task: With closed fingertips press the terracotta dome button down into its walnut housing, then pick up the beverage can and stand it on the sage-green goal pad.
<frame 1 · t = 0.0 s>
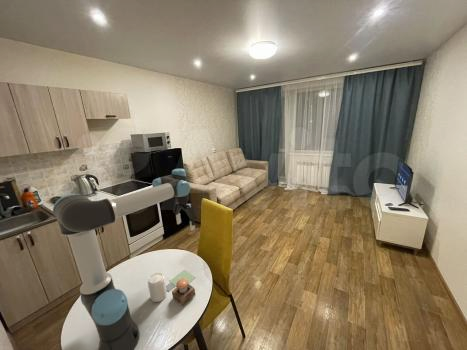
hand: (185, 226, 120), 28 cm above the table, fingers open, 13 cm apart
beverage can: (159, 296, 105), on the table
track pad: (169, 287, 110), on the table
plunger: (182, 287, 102), point 6 cm above the table, slide at 0.0 cm
housing: (184, 296, 104), on the table
goal pad: (182, 279, 115), on the table
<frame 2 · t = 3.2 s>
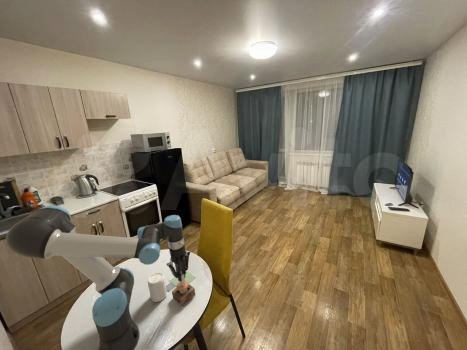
hand: (182, 284, 102), 8 cm above the table, fingers closed
plunger: (183, 289, 102), point 5 cm above the table, slide at 1.3 cm, touching gripper
everything else where it was.
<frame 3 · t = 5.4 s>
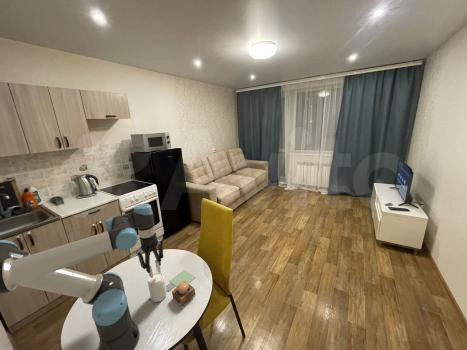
hand: (155, 274, 101), 15 cm above the table, fingers open, 3 cm apart
plunger: (183, 291, 103), point 4 cm above the table, slide at 2.4 cm
everything else where it was.
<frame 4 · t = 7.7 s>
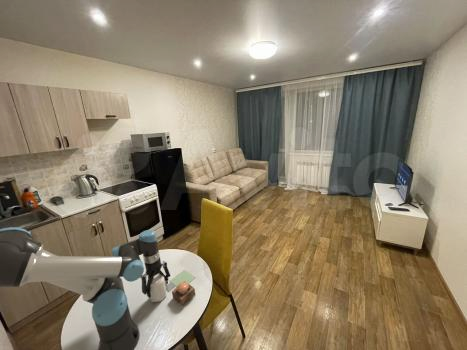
hand: (159, 294, 105), 1 cm above the table, fingers open, 8 cm apart
beverage can: (159, 296, 105), on the table, touching gripper
everything else where it was.
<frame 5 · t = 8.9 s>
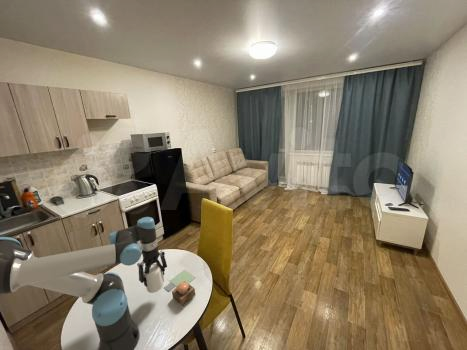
hand: (155, 285, 102), 8 cm above the table, fingers closed on beverage can, 7 cm apart
beverage can: (155, 287, 102), point 6 cm above the table, touching gripper
everything else where it was.
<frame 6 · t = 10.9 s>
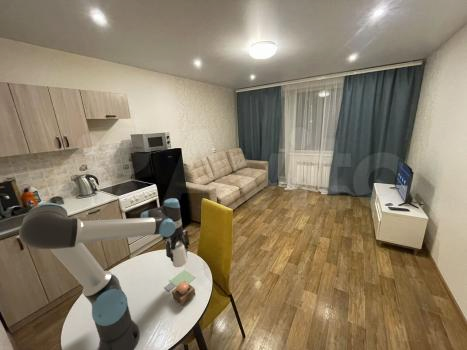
hand: (180, 261, 112), 13 cm above the table, fingers closed on beverage can, 7 cm apart
beverage can: (180, 263, 112), point 12 cm above the table, touching gripper
everything else where it was.
when the fingers open (2 cm above the table, at t = 13.1 s): beverage can moves 1 cm, resting on goal pad.
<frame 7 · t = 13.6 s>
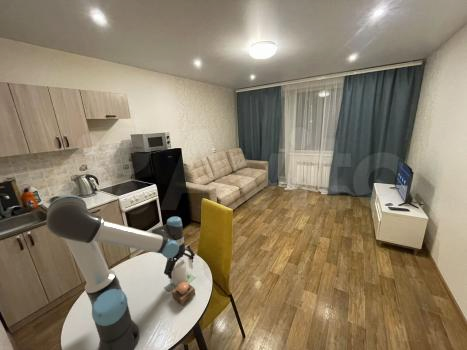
hand: (182, 274, 114), 3 cm above the table, fingers open, 13 cm apart
beverage can: (180, 280, 114), resting on goal pad
everything else where it was.
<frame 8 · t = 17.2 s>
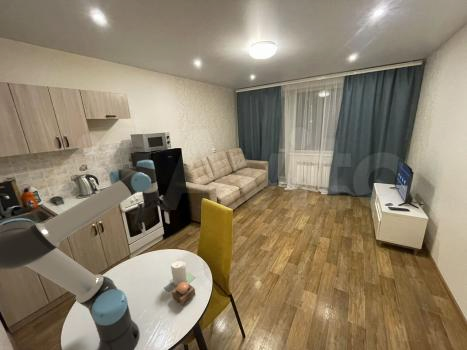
hand: (156, 228, 103), 37 cm above the table, fingers open, 13 cm apart
nothing on the table moved.
at the end: plunger slide at 2.4 cm; beverage can inside the target area on the goal pad (1.5 cm from its centre), point 0.0 cm above the goal pad's base; beverage can tilted 0° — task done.
